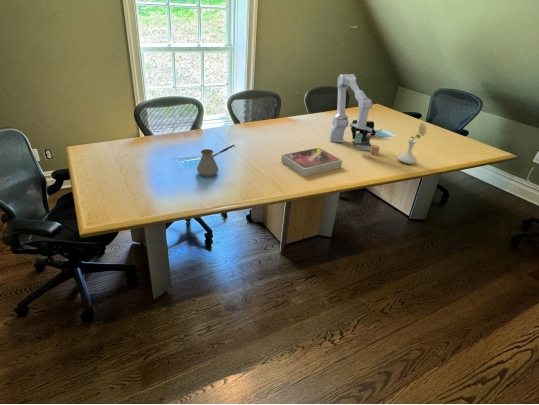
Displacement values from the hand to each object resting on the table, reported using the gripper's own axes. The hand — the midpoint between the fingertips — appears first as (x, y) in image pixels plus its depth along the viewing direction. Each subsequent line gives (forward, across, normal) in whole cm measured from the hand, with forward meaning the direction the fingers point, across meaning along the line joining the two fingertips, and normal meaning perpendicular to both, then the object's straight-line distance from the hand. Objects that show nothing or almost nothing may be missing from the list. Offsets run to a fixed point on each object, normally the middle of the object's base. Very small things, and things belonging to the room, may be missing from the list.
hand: (358, 140), depth 218 cm
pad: (+8, -1, -10) cm, 13 cm away
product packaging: (+9, +11, +38) cm, 40 cm away
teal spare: (+1, 0, 0) cm, 1 cm away
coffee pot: (+9, +44, +84) cm, 95 cm away
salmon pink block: (+8, -10, -7) cm, 15 cm away
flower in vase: (+9, -31, -10) cm, 34 cm away
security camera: (+9, +11, -36) cm, 39 cm away
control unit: (+8, +4, -17) cm, 20 cm away
